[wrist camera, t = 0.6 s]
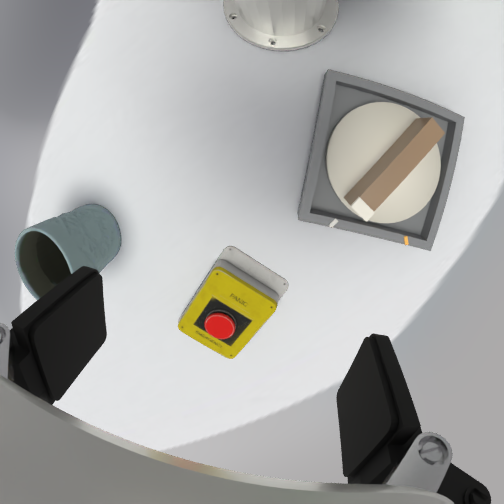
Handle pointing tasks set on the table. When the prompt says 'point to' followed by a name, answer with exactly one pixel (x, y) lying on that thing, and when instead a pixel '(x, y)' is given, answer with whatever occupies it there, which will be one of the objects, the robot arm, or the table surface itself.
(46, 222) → the teal cup
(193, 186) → the table surface
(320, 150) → the dial housing
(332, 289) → the table surface
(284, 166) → the table surface
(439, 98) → the table surface
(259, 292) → the emergency button
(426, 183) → the dial
